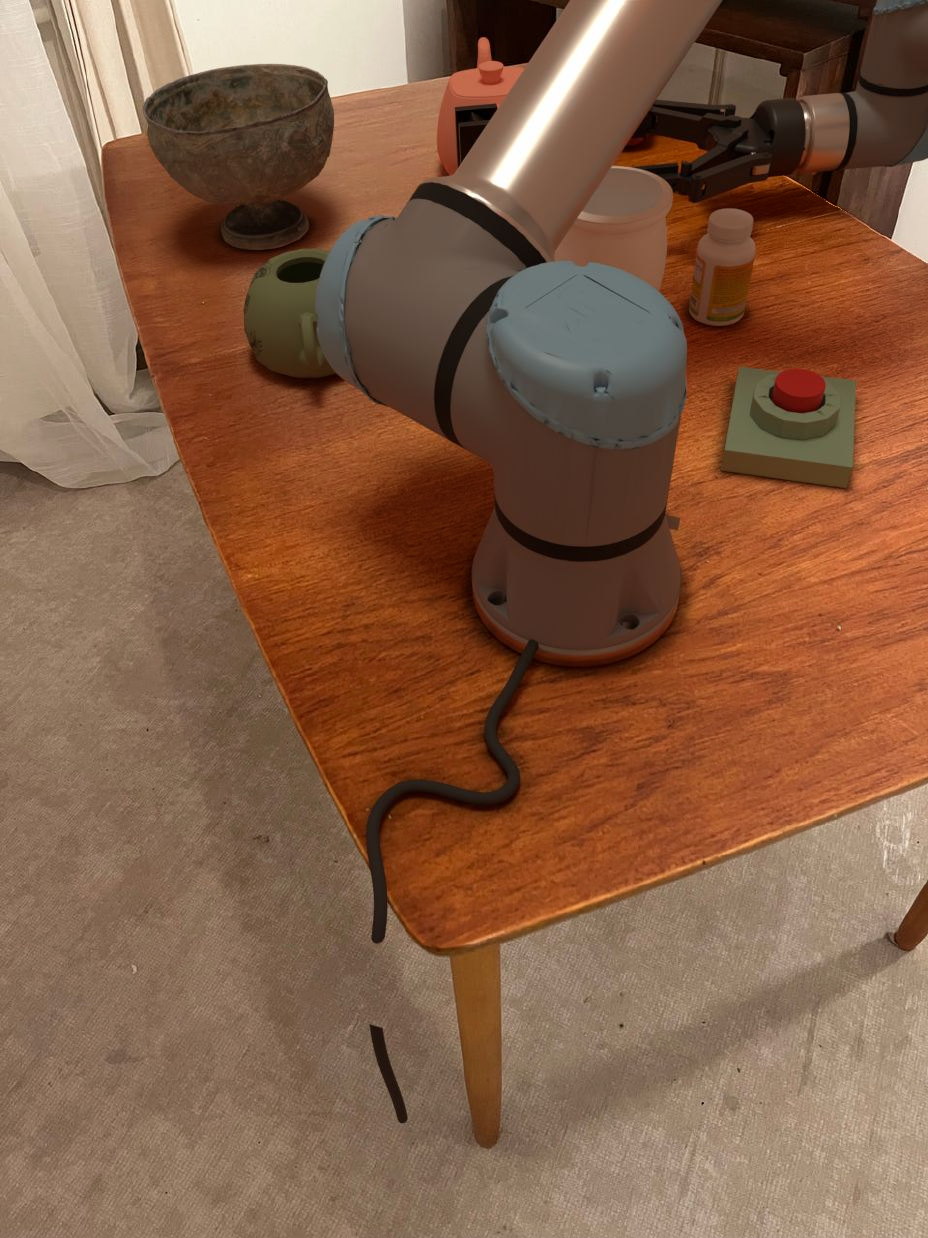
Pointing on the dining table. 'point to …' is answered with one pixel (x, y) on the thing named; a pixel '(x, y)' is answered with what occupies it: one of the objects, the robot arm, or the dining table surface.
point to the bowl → (245, 144)
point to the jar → (623, 225)
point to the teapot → (471, 97)
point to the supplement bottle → (723, 268)
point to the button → (798, 390)
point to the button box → (790, 432)
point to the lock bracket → (470, 127)
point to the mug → (287, 314)
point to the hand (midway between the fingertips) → (599, 154)
